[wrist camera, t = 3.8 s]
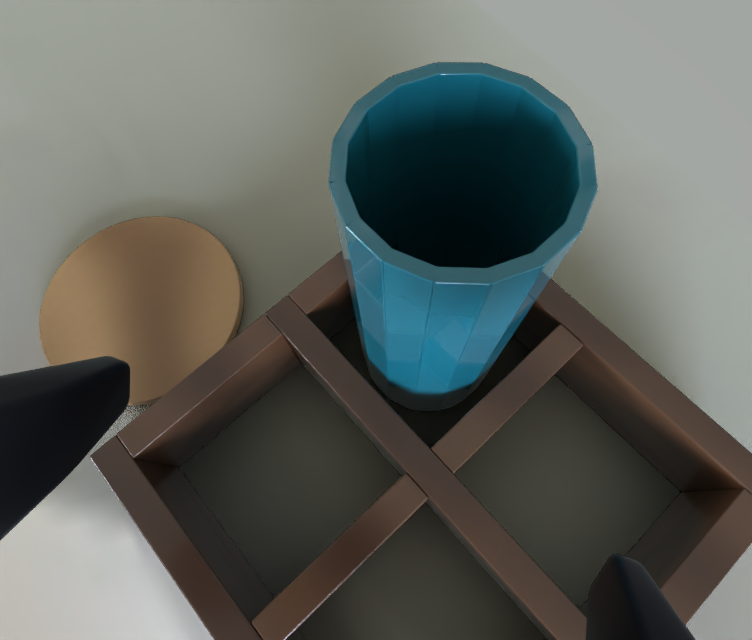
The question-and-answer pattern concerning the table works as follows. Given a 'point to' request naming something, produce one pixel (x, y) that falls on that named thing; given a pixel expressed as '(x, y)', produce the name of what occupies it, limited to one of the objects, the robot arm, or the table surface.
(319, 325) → the glass rack
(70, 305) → the coaster
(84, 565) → the table surface
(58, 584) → the table surface
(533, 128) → the tumbler
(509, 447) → the table surface
